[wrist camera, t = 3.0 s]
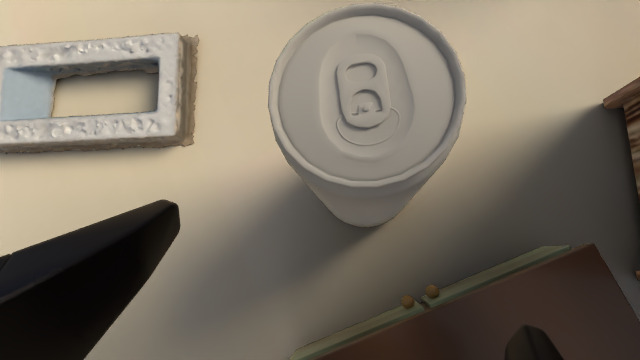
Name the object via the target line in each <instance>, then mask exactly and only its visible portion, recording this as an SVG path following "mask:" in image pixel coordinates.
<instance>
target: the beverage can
mask: <svg viewBox="0 0 640 360" xmlns="http://www.w3.org/2000/svg"><path fill="white" fill-rule="evenodd" d="M465 104H466V87H465V74H464V72H463V69H462V66H461V63H460V61H459V58H458V55H457V53H456V51H455V50H454V48H453V47H452V46H451V44H450V43H449V41H448V40H447V39H446V37H445V36H444V35H443V33H442V32H441V31H440V30H438V29H437V28H436V27H435V26H433V25H432V24H431V23H429V22H428V21H427V20H426V19H424V18H423V17H421V16H419V15H417V14H414V13H412V12H410V11H408V10H405V9H403V8H401V7H396V6H390V5H384V4H379V3H368V4H352V5H348V6H345V7H341V8H338V9H335V10H332V11H328V12H326V13H325V14H323V15H321V16H319V17H318V18H316V19H314V20H312V21H311V22H309V23H307V24H306V25H305V26H304V27H303V28H302V29H301V30H300V31H299V32H297V33H296V34H295V35H294V36H293V37H292V38H291V39H290V40H289V42H288V43H287V45H286V46H285V48H284V49H283V51H282V52H281V54H280V56H279V57H278V59H277V60H276V63H275V66H274V69H273V73H272V76H271V79H270V82H269V97H268V108H269V112H270V117H271V122H272V126H273V131H274V135H275V139H276V142H277V144H278V145H279V147H280V149H281V151H282V153H283V155H284V156H285V158H286V160H287V162H288V163H289V165H290V166H291V167H292V168H293V169H294V170H295V171H296V173H297V174H298V175H299V176H300V177H301V178H302V179H303V181H304V182H305V183H306V184H307V185H308V186H309V187H310V188H311V190H312V191H313V192H314V193H315V194H316V195H317V196H318V198H319V199H320V200H321V201H322V202H323V203H324V204H325V206H326V207H327V208H328V209H329V210H330V211H331V212H332V213H333V214H334V215H335V216H336V217H337V218H339V219H340V220H342V221H344V222H345V223H347V224H351V225H354V226H358V227H373V226H377V225H380V224H384V223H385V222H387V221H389V220H391V219H392V218H394V217H395V216H396V215H397V214H398V213H399V212H400V211H401V210H402V209H403V208H404V207H405V205H406V204H407V203H408V202H409V201H410V200H411V199H412V198H413V196H414V195H415V194H416V193H417V192H418V191H419V190H420V188H421V187H422V186H423V185H424V184H425V183H426V182H427V181H428V179H429V178H430V177H431V176H432V175H433V174H434V173H435V171H436V170H437V169H438V168H439V167H440V166H441V165H442V164H443V162H444V161H445V160H446V158H447V156H448V154H449V152H450V151H451V149H452V147H453V145H454V144H455V142H456V140H457V138H458V136H459V131H460V127H461V123H462V118H463V114H464V108H465Z"/></svg>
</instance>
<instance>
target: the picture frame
mask: <svg viewBox="0 0 640 360" xmlns="http://www.w3.org/2000/svg"><path fill="white" fill-rule="evenodd" d="M198 42H199V38H198V35H196V36H195V37H194V38H192V37H188V35H186V36H183V37H182V36H181V35H180V34H179V33H161V34H151V35H143V36H131V37H129V36H127V37H122V38H109V39H97V40H85V41H69V42H53V43H44V44H27V45H9V46H0V152H6V154H7V153H8V152H13V153H18V152H19V151H21V152H22V153H24V152H26V151H29V152H30V153H38V152H41V151H43V152H45V151H48V150H52V151H54V152H63V149H64V150H71V149H79V150H82V151H88V150H92V149H96V150H100V149H106V150H108V149H110V148H121V149H124V148H125V147H132V146H133V147H136V146H138V145H140V146H142V147H143V148H144V147H147V146H148V147H155V148H162V147H165V145H166V146H171V145H174V146H177V145H180V144H182V145H183V146H184V147H185V146H187V145H189V144H192V143H194V141H193V139H192V138H193V137H194V136H193V135H191V134H190V133H194V126H195V123H194V113H193V111H194V110H195V105H193V103H194V101H195V93H196V88H197V82H194V79H195V76H196V72H197V70H196V64H197V57H195V56H194V54H196V53H197V49H196V47H197V46H198ZM134 69H137V70H138V69H142V70H144V71H145V72H147V73H148V74H149V73H158V72H159V83H158V102H157V108H156V110H155V111H149V112H141V113H138V112H136V113H123V114H108V115H91V116H90V115H89V116H70V117H52V115H51V112H52V110H53V108H54V106H53V103H54V99H55V98H54V97H53V93H54V89H55V86H56V80H57V79H58V78H67V77H69V76H71V75H74V74H78V75H84V76H88V75H89V74H92V75H94V74H96V73H97V72H98V73H101V74H103V73H105V72H110V71H113V70H120V71H122V72H123V71H124V70H129V71H133V70H134Z"/></svg>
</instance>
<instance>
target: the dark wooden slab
mask: <svg viewBox="0 0 640 360" xmlns="http://www.w3.org/2000/svg"><path fill="white" fill-rule="evenodd" d="M425 292H426V295H425V296H423V297H421V298H422V300H423V303H420V304H419V303H418V302H417V301H416V300H414V299H413V297H411V296H409V295H405V296H404V297H403V298H402V300H401V304H402V306H399V307H397V308H394V309H392V310H390V311H387V312H385V313H383V314H380V315H378V316H375V317H373V318H371V319H368V320H366V321H363V322H361V323H359V324H356V325H354V326H352V327H349V328H347V329H344V330H342V331H340V332H337V333H335V334H333V335H330V336H328V337H325V338H323V339H321V340H318V341H316V342H313V343H311V344H309V345H306V346H304V347H302V348H299V349H297V350H296V351H295V353H294V354H293V356H292V357H291V358H290V360H504V358H505V348H506V345H507V343H508V342H509V340H510V339H511V338H512V336H513V335H514V334H515V333H516V331H517V330H518V329H519V328H520V327H521V326H522V325H523V324H528V325H531V326H534V327H537V328H540V329H542V330H543V331H544V332H545V333H546V334H547V335H548V337H549V338H550V340H551V341H552V343H553V344H554V345H555V347H556V348H557V350H558V351H559V353H560V354H561V356H562V357H563V359H564V360H640V321H639V320H638V318H637V316H636V314H635V313H634V311H633V309H632V308H631V306H630V304H629V303H628V301H627V299H626V297H625V296H624V294H623V292H622V291H621V289H620V287H619V285H618V284H617V282H616V280H615V279H614V277H613V275H612V273H611V272H610V270H609V268H608V267H607V265H606V263H605V261H604V260H603V258H602V256H601V255H600V253H599V251H598V250H597V248H596V246H595V244H593V243H590V244H583V245H581V246H578V247H576V248H573V249H572V248H571V247H570V246H542V247H540V248H537V249H535V250H533V251H530V252H528V253H525V254H523V255H521V256H518V257H516V258H514V259H511V260H509V261H506V262H504V263H502V264H499V265H497V266H495V267H492V268H490V269H487V270H485V271H483V272H480V273H478V274H475V275H473V276H471V277H468V278H466V279H464V280H461V281H459V282H456V283H454V284H452V285H449V286H447V287H444V288H442V289H440V290H439V289H438V288H437V287H436V286H434V285H429V286H428V287H427V288H426V290H425Z"/></svg>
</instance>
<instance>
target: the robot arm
mask: <svg viewBox="0 0 640 360" xmlns="http://www.w3.org/2000/svg"><path fill="white" fill-rule="evenodd" d="M179 230H180V217H179V208H178V205H177V204H176V203H173V202H170V201H168V200H159V201H156V202H153V203H150V204H148V205H145V206H142V207H139V208H136V209H134V210H131V211H128V212H125V213H122V214H120V215H117V216H114V217H111V218H108V219H106V220H103V221H100V222H97V223H94V224H92V225H89V226H86V227H83V228H80V229H78V230H75V231H72V232H69V233H66V234H64V235H61V236H58V237H55V238H52V239H50V240H47V241H44V242H41V243H38V244H36V245H33V246H30V247H27V248H24V249H21V250H19V251H16V252H13V253H12V254H7V255H4V256H2V257H0V360H84V358H85V357H86V356H87V355H88V353H89V352H90V351H91V350H92V348H93V347H94V346H95V345H96V344H97V342H98V341H99V340H100V339H101V337H102V336H103V335H104V334H105V332H106V331H107V330H108V329H109V328H110V326H111V325H112V324H113V323H114V321H115V320H116V319H117V318H118V316H119V315H120V314H121V313H122V311H123V310H124V309H125V308H126V307H127V305H128V304H129V303H130V302H131V300H132V299H133V298H134V297H135V295H136V294H137V293H138V292H139V291H140V289H141V288H142V287H143V285H144V284H145V283H146V282H147V280H148V279H149V277H150V276H151V275H152V273H153V272H154V270H155V269H156V267H157V266H158V264H159V262H160V261H161V259H162V258H163V256H164V255H165V253H166V252H167V250H168V249H169V247H170V246H171V244H172V242H173V241H174V239H175V238H176V236H177V235H178V233H179ZM504 360H564V359H563V357H562V356H561V354H560V353H559V351H558V350H557V348H556V347H555V345H554V344H553V343H552V341H551V340H550V338H549V337H548V335H547V334H546V333H545V332H544V331H543V330H542V329H540V328H537V327H534V326H531V325H528V324H523V325H522V326H521V327H520V328H519V329H518V330H517V331H516V333H515V334H514V335H513V336H512V338H511V339H510V340H509V342H508V343H507V345H506V348H505V358H504Z"/></svg>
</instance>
